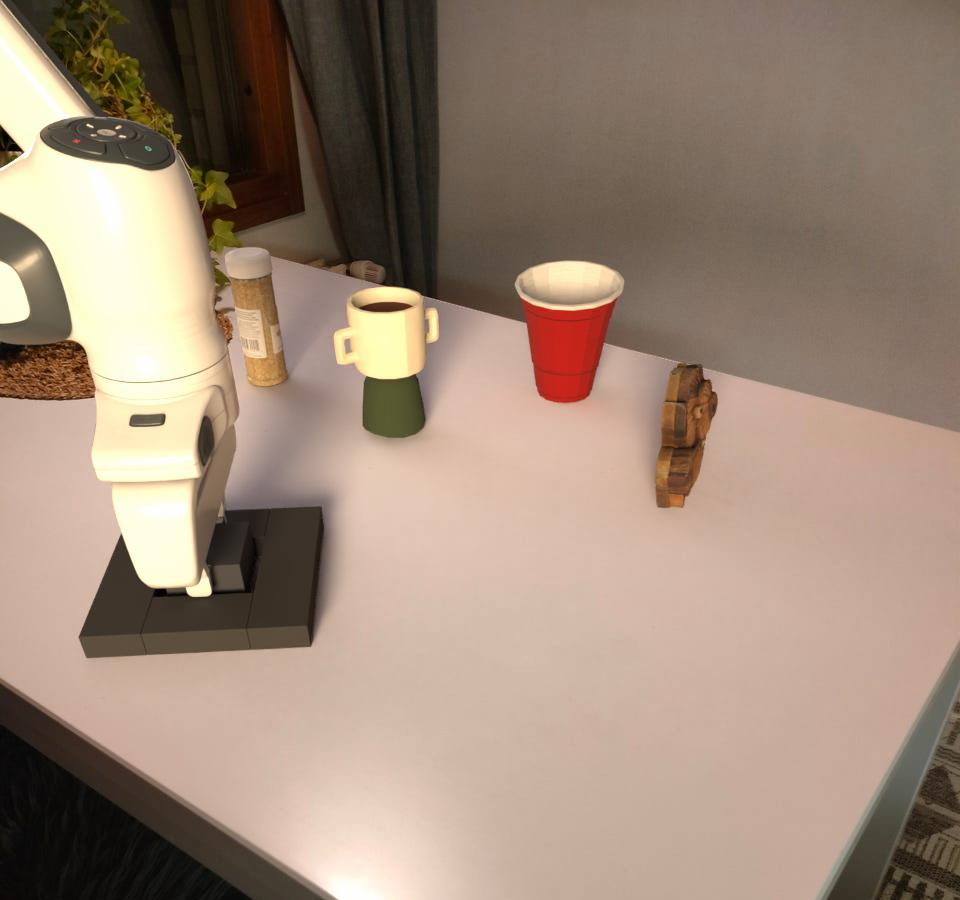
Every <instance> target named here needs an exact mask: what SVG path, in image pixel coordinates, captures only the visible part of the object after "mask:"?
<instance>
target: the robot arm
mask: <svg viewBox="0 0 960 900" xmlns="http://www.w3.org/2000/svg"><path fill="white" fill-rule="evenodd" d="M0 127H2V129H3V130H4V131H5V132H6V133H7V135H8V136H9V137H10V138H11V139H12V140H13V141H14V142H15V144H16V145H17V146H18V147H19V148H20V149H21V150H22V151H23V153H22V154H21V155H20V156H18V157H16V158H15V159H14V160H12V161H11V162H9V163H8V164H6V165H4V166H3V167H0V342H1V343H5V344H10V345H25V346H26V345H27V346H30V345H50V344H56V343H60V342H64V341H72V342H75V343H77V344H79V345H80V346H81V347H82V348H83V349H84V351H85V354H86V359H87V364H88V368H89V371H90V374H91V377H92V381H93V384H94V387H95V390H94V392H93V393H94V401H95V409H96V410H95V412H96V413H95V414H96V416H95V424H94V433H93V438H92V439H93V440H92V444H91V451H90V458H91V463H92V466H93V469H94V473H95V475H96V477H97V479H98V480H99V481H100V482H105V483H106V482H107V483H109V482H111V485H110V486H111V488H110V490H111V500H112V506H113V510H114V513H115V517H116V520H117V524H118V527H119V529H120V534H121V533H122V536H123V538H124V541H125V544H126V547H127V550H128V552H129V555H130V557H131V560H132V563H133V565H134V568H135V570H136V572H137V574H138V576H139V578H140V579H141V580H142V581H143V582H144V583H145V584H146V585H147V586H149V587H151V588H181V587H186V591H187V593H188V594H189V595H190V596H192V597H203V596H209V595H211V593H212V589H213V585H214V577H213V573H212V569H211V565H207V564H206V562H205V561H206V558H207V554H208V550H209V547H210V543H211V539H212V536H213V532H214V528H215V525H216V523H227V520H226V515H225V510H226V488H227V483H228V480H229V478H230V473H231V470H232V465H233V462H234V458H235V454H236V451H237V432H236V427H235V424H236V421H237V420H238V418H239V417H240V413H241V412H240V411H241V408H240V403H239V398H238V392H237V387H236V381H235V377H234V371H233V365H232V362H231V361H232V359H231V356H230V355H231V354H230V349H229V345H228V341H227V337H226V335H225V332H224V330H223V328H222V326H221V324H220V322H219V320H218V317H217V314H216V309H215V291H216V276H215V269H214V263H213V259H212V253H211V249H210V243H209V240H208V235H207V231H206V226H205V223H204V219H203V215H202V211H201V207H200V203H199V200H198V196H197V193H196V190H195V187H194V184H193V182H192V178H191V177H190V174H189V172H188V169H187V168H186V166H185V163H184V161H183V159H182V157H181V155H180V154H179V152H178V150H177V149H176V147H175V145H174V143H172V142H171V141H170V139H168V137H166V136H165V135H164V134H162V133H160V132H158V131H156V130H155V129H153V128H152V127H150V126H147V125H145V124H143V123H140V122H137V121H134V120H129V119H126V118H120V117H114V116H113V117H112V116H109V115H108V114H106V112H105V111H104V109H102V107H100V106H99V105H98V103H97V102H96V101H95V100H94V99H93V98H92V96H91V95H90V94H89V93H88V92H87V90H86V89H85V88H84V87H83V86H82V84H81V83H80V82H79V81H78V79H77V78H76V77H75V76H74V75H73V73H72V72H71V71H70V70H69V69H68V67H67V66H66V65H65V64H64V63H63V61H62V60H61V59H60V57H58V55H57V54H56V53H55V52H54V51H53V49H52V47H50V46H49V44H48V43H47V42H46V40H44V38H43V37H42V36H41V34H40V32H38V31H37V30H36V29H35V27H34V26H33V25H32V24H31V23H30V21H29V20H28V19H27V18H26V16H25V15H24V14H23V13H22V11H21V10H20V9H19V8H18V7H17V5H16V4H15V3H14V2H13V1H12V0H0Z"/></svg>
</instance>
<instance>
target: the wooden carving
mask: <svg viewBox="0 0 960 900" xmlns="http://www.w3.org/2000/svg"><path fill="white" fill-rule="evenodd" d="M704 376H705V375H704V369H703V365H702V364H701V363H697V364H687V363H686V362H678V363H677V364H676V367H674V368H673V369H671V371H670V373H669V377H668V380H667V383H666V389H665V390H666V391H665V395H664V401H663V402H662V408H661V419H660V433H661V446H660V449H659V452H658V456H657V459H656V466H655V473H654V485H655V486H654V488H655V489H654V490H655V499H656V500H655V502H656V507H657V508H658V509H670V508H680V509H683V508H684V506H685V501H686V497H689V496H690V494H691V491H692V489H693V487H694V486H695V484H696V482H697V480H698V478H699V475H700V471H701V467H702V463H703V462H702V461H703V458H704V451H705V446H706V440H707V435H708V434H709V432H710V429H711V425H712V422H713V419H714V417H715V416H716V414H717V409H718V404H719V401H718V400H719V398H718V394H717V391H713V382H712V380H711V379H710V378H708V379H706V378H705V377H704Z"/></svg>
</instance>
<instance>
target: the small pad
mask: <svg viewBox="0 0 960 900" xmlns="http://www.w3.org/2000/svg"><path fill="white" fill-rule="evenodd" d="M256 561H257V557H256V554H255V549H254V544H253V539H252V534H251V529H250V524H249V522H237V523H216V525H215V528H214V532H213V536H212V539H211V543H210V547H209V550H208V554H207V558H206V561H205V562H206V564H207V565H211V569H212V573H213V577H214V585H213V589H212V593H211V595H214V594H236V593H250V591H251V585H252V580H253V576H254V571H255V566H256ZM166 590H167V593H166V595H167V597H171V596H190V595H189V594H188V593H187V591H186V587H181V588H166Z"/></svg>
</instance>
